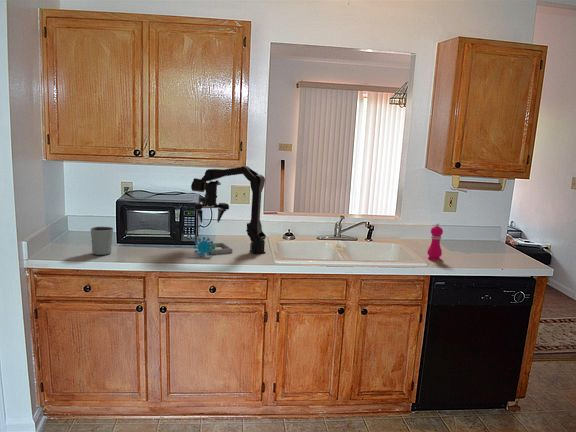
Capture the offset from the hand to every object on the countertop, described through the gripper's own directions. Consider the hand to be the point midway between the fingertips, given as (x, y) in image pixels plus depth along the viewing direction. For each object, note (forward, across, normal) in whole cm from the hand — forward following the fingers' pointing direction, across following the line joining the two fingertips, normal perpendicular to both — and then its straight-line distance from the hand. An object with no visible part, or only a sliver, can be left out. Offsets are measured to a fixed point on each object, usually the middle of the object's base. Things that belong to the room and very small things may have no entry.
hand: (209, 222), depth 253 cm
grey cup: (+14, +53, -2) cm, 55 cm away
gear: (+14, +8, +19) cm, 25 cm away
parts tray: (+13, -2, +9) cm, 16 cm away
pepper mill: (+12, -103, +58) cm, 119 cm away
